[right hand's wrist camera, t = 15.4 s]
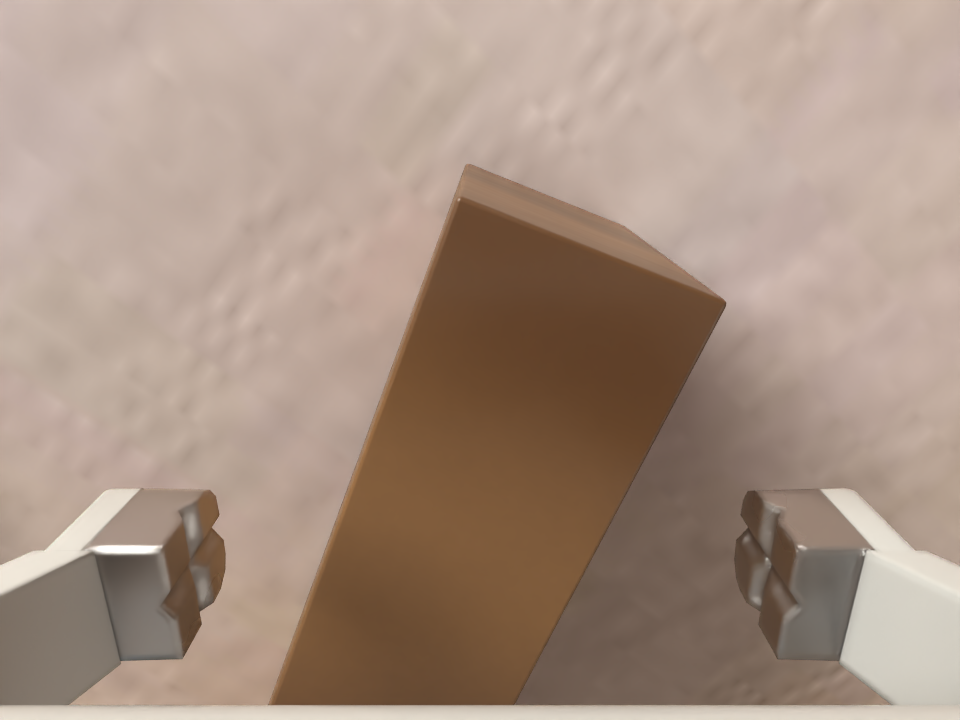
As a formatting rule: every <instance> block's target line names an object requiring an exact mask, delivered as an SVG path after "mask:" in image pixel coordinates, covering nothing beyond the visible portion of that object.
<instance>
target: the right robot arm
mask: <svg viewBox="0 0 960 720" xmlns="http://www.w3.org/2000/svg"><path fill="white" fill-rule="evenodd" d="M218 517H219V510H218V505H217V500H216V496H215V495H214V494H213V493H212V492H211V491H210V490H189V489H143V488H123V489H110V490H105V491H104V492H103V493H102V494H101V495H100V496H99V497H98V498H97V499H96V500H95V501H94V502H93V503H92V504H91V505H90V506H89V507H88V508H87V509H86V510H85V511H84V512H83V513H82V514H81V515H80V516H79V517H78V518H77V519H76V520H75V521H74V522H73V523H72V524H71V525H70V526H69V527H68V528H67V529H66V530H65V531H64V532H63V533H62V534H61V535H60V536H59V537H58V538H57V539H56V540H55V541H54V542H53V543H52V544H51V545H50V546H49V547H48V548H47V549H46V550H45V551H32V552H29V553H27V554H25V555H23V556H20V557H18V558H16V559H14V560H11V561H9V562H7V563H5V564H2V565H0V720H960V565H958V564H955V563H953V562H951V561H949V560H946V559H944V558H942V557H940V556H937V555H935V554H933V553H931V552H928V551H915V550H914V549H913V548H912V547H911V546H910V545H909V544H908V543H907V542H906V541H905V540H904V539H903V538H902V537H901V536H900V535H899V534H898V533H897V532H896V531H895V530H894V529H893V528H892V527H891V526H890V525H889V524H888V523H887V522H886V521H885V520H884V519H883V518H882V517H881V516H880V515H879V514H878V513H877V512H876V511H875V510H874V509H873V508H872V507H871V506H870V505H869V504H868V503H867V502H866V501H865V500H864V499H863V498H862V497H861V496H860V495H859V494H858V493H857V492H856V491H854V490H851V489H848V488H832V489H801V490H761V491H747V493H746V495H745V498H744V500H743V504H742V509H741V517H742V518H743V520H744V521H745V523H746V524H747V526H748V529H747V530H746V531H745V532H744V533H743V534H742V535H741V536H740V537H739V538H738V539H737V540H736V548H735V557H734V562H735V572H736V579H737V582H738V585H739V588H740V591H741V593H742V595H743V597H744V599H745V601H746V602H747V603H748V604H750V605H751V606H753V607H754V608H756V609H757V610H759V611H760V618H759V624H758V625H759V626H760V628H761V630H762V632H763V634H764V635H765V637H766V639H767V641H768V643H769V644H770V646H771V648H772V650H773V652H774V653H775V655H776V657H777V659H792V660H828V661H839V664H840V665H841V666H843V667H844V668H845V669H847V670H848V671H849V672H850V673H852V674H853V675H854V676H855V677H857V678H858V679H859V680H861V681H862V682H863V683H864V684H866V685H867V686H868V687H870V688H871V689H872V690H873V691H875V692H876V693H877V694H878V695H880V696H881V697H882V698H884V699H885V700H886V701H887V702H889V703H890V704H891V705H69V704H70V703H72V702H73V701H74V700H75V699H77V698H78V697H79V696H81V695H82V694H83V693H84V692H86V691H87V690H88V689H89V688H91V687H92V686H93V685H95V684H96V683H97V682H98V681H100V680H101V679H102V678H103V677H105V676H106V675H107V674H109V673H110V672H111V671H112V670H114V669H115V668H116V667H118V666H119V665H120V664H121V662H120V661H131V660H166V659H183V657H184V655H185V653H186V652H187V650H188V648H189V646H190V644H191V643H192V641H193V639H194V637H195V635H196V634H197V632H198V630H199V628H200V626H201V625H202V624H201V618H200V611H201V610H203V609H204V608H206V607H207V606H209V605H210V604H212V603H213V602H214V601H215V599H216V597H217V595H218V593H219V591H220V589H221V585H222V581H223V577H224V573H225V547H224V540H223V539H222V538H221V537H220V536H219V535H218V534H217V533H216V532H215V531H214V530H213V529H212V526H213V524H214V523H215V521H216V520H217V518H218Z"/></svg>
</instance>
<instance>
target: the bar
mask: <svg viewBox="0 0 960 720" xmlns="http://www.w3.org/2000/svg"><path fill="white" fill-rule="evenodd" d="M725 307H726V302H725V301H724V299H722V298H721V297H720V296H718V295H717V294H715V293H714V292H713V291H711V290H710V289H709V288H707V287H706V286H705V285H703V284H702V283H701V282H699V281H698V280H697V279H695V278H694V277H692V276H691V275H690V274H688V273H687V272H686V271H684V270H683V269H682V268H680V267H679V266H678V265H676V264H675V263H673V262H672V261H671V260H669V259H668V258H667V257H665V256H664V255H663V254H661V253H660V252H659V251H657V250H656V249H654V248H653V247H652V246H650V245H649V244H648V243H646V242H645V241H644V240H642V239H641V238H640V237H638V236H637V235H636V234H634V233H633V232H631V231H630V230H629V229H627V228H626V227H625V226H622V225H620V224H617V223H615V222H612V221H610V220H607V219H605V218H603V217H600V216H598V215H595V214H593V213H590V212H588V211H585V210H583V209H580V208H578V207H575V206H573V205H570V204H568V203H565V202H563V201H560V200H558V199H555V198H553V197H550V196H548V195H545V194H543V193H540V192H538V191H535V190H533V189H530V188H528V187H525V186H523V185H520V184H518V183H515V182H513V181H511V180H508V179H506V178H503V177H501V176H498V175H496V174H493V173H491V172H488V171H486V170H483V169H481V168H478V167H476V166H473V165H471V164H467V165H466V166H465V168H464V171H463V174H462V176H461V179H460V182H459V185H458V187H457V190H456V193H455V195H454V198H453V201H452V204H451V206H450V209H449V212H448V215H447V217H446V220H445V223H444V226H443V228H442V231H441V234H440V237H439V239H438V242H437V245H436V247H435V250H434V253H433V256H432V258H431V261H430V264H429V267H428V269H427V272H426V275H425V278H424V280H423V283H422V286H421V289H420V291H419V294H418V297H417V300H416V302H415V305H414V308H413V310H412V313H411V316H410V319H409V321H408V324H407V327H406V330H405V332H404V335H403V338H402V341H401V343H400V346H399V349H398V352H397V354H396V357H395V360H394V363H393V365H392V368H391V371H390V373H389V376H388V379H387V382H386V384H385V387H384V390H383V393H382V395H381V398H380V401H379V404H378V406H377V409H376V412H375V415H374V417H373V420H372V423H371V426H370V428H369V431H368V434H367V436H366V439H365V442H364V445H363V447H362V450H361V453H360V456H359V458H358V461H357V464H356V467H355V469H354V472H353V475H352V478H351V480H350V483H349V486H348V488H347V491H346V494H345V497H344V499H343V502H342V505H341V508H340V510H339V513H338V516H337V519H336V521H335V524H334V527H333V530H332V532H331V535H330V538H329V541H328V543H327V546H326V549H325V551H324V554H323V557H322V560H321V562H320V565H319V568H318V571H317V573H316V576H315V579H314V582H313V584H312V587H311V590H310V593H309V595H308V598H307V601H306V604H305V606H304V609H303V612H302V614H301V617H300V620H299V623H298V625H297V628H296V631H295V634H294V636H293V639H292V642H291V645H290V647H289V650H288V653H287V656H286V658H285V661H284V664H283V667H282V669H281V672H280V675H279V677H278V680H277V683H276V686H275V688H274V691H273V694H272V697H271V699H270V702H269V705H514V704H515V702H516V700H517V698H518V696H519V695H520V693H521V691H522V689H523V687H524V685H525V683H526V681H527V679H528V678H529V676H530V674H531V672H532V670H533V668H534V666H535V664H536V663H537V661H538V659H539V657H540V655H541V653H542V651H543V649H544V647H545V646H546V644H547V642H548V640H549V638H550V636H551V634H552V632H553V631H554V629H555V627H556V625H557V623H558V621H559V619H560V617H561V615H562V614H563V612H564V610H565V608H566V606H567V604H568V602H569V600H570V599H571V597H572V595H573V593H574V591H575V589H576V587H577V585H578V584H579V582H580V580H581V578H582V576H583V574H584V572H585V570H586V568H587V567H588V565H589V563H590V561H591V559H592V557H593V555H594V553H595V552H596V550H597V548H598V546H599V544H600V542H601V540H602V538H603V536H604V535H605V533H606V531H607V529H608V527H609V525H610V523H611V521H612V520H613V518H614V516H615V514H616V512H617V510H618V508H619V506H620V504H621V503H622V501H623V499H624V497H625V495H626V493H627V491H628V489H629V488H630V486H631V484H632V482H633V480H634V478H635V476H636V474H637V472H638V471H639V469H640V467H641V465H642V463H643V461H644V459H645V457H646V456H647V454H648V452H649V450H650V448H651V446H652V444H653V442H654V440H655V439H656V437H657V435H658V433H659V431H660V429H661V427H662V425H663V424H664V422H665V420H666V418H667V416H668V414H669V412H670V410H671V408H672V407H673V405H674V403H675V401H676V399H677V397H678V395H679V393H680V392H681V390H682V388H683V386H684V384H685V382H686V380H687V378H688V376H689V375H690V373H691V371H692V369H693V367H694V365H695V363H696V361H697V360H698V358H699V356H700V354H701V352H702V350H703V348H704V346H705V344H706V343H707V341H708V339H709V337H710V335H711V333H712V331H713V329H714V328H715V326H716V324H717V322H718V320H719V318H720V316H721V314H722V312H723V311H724V309H725Z"/></svg>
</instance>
